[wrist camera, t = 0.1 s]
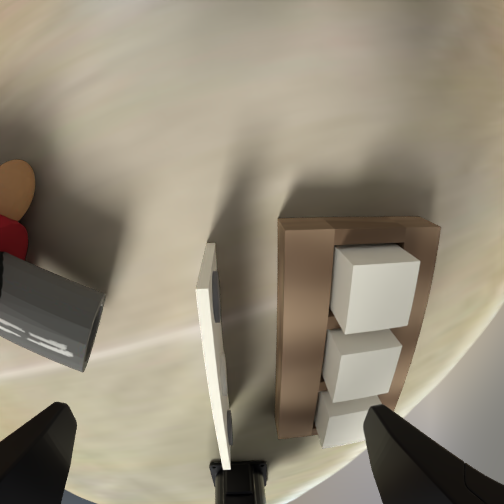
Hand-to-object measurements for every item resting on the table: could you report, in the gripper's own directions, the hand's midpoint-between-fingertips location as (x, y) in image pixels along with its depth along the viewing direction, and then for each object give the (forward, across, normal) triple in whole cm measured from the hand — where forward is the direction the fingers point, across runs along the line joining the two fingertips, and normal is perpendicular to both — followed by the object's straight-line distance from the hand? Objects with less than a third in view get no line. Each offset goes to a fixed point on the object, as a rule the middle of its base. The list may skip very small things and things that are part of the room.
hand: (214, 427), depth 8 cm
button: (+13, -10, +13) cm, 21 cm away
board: (+14, -10, +7) cm, 19 cm away
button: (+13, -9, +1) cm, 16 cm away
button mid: (+13, -10, +7) cm, 17 cm away
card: (+14, 0, +7) cm, 16 cm away
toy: (+15, +18, -1) cm, 24 cm away
